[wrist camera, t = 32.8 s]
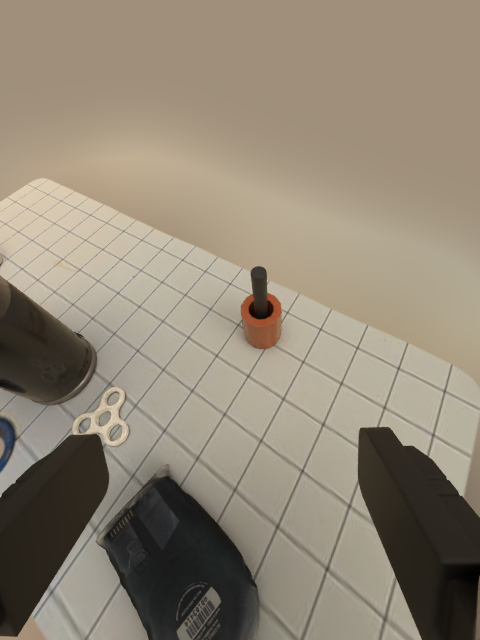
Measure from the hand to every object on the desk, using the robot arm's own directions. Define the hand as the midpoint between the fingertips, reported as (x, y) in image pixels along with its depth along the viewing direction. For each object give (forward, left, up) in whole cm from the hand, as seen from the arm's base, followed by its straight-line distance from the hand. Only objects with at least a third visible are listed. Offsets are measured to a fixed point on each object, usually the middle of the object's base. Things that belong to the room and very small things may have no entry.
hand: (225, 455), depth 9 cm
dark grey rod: (+1, +17, -23) cm, 28 cm away
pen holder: (+1, +17, -24) cm, 29 cm away
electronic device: (-7, -7, -24) cm, 26 cm away
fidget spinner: (-18, +7, -24) cm, 30 cm away
